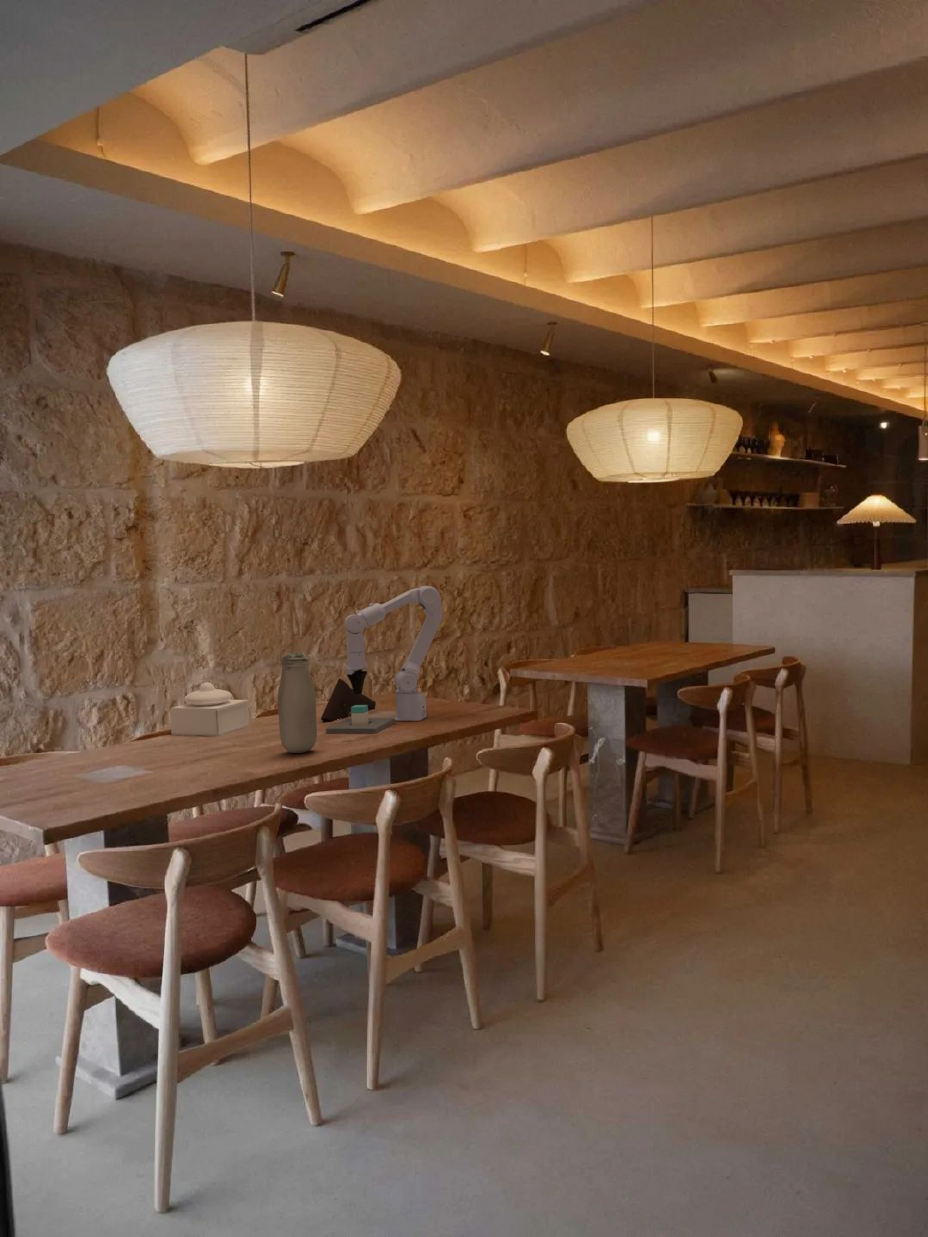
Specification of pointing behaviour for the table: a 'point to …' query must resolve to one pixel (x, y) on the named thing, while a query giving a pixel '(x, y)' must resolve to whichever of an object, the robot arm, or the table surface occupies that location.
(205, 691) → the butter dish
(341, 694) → the holster
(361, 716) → the plug
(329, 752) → the table surface
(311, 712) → the glass bottle
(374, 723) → the port plate
